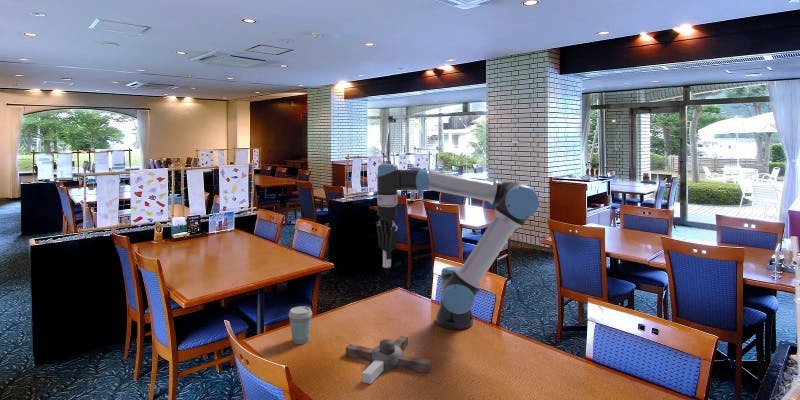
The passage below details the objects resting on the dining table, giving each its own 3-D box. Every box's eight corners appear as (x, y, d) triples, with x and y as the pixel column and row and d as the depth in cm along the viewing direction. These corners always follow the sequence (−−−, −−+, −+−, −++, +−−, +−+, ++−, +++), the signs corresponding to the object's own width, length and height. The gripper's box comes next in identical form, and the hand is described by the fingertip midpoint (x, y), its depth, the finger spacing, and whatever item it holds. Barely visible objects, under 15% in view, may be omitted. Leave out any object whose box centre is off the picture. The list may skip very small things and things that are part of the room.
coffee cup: (307, 347, 162) (306, 315, 161) (285, 344, 164) (284, 313, 162) (316, 337, 170) (315, 306, 169) (295, 335, 172) (294, 304, 171)
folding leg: (375, 368, 146) (375, 359, 146) (383, 370, 145) (383, 361, 145) (362, 381, 138) (362, 372, 138) (371, 383, 137) (371, 374, 137)
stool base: (405, 342, 166) (405, 324, 166) (433, 372, 145) (434, 351, 144) (344, 353, 158) (344, 334, 157) (364, 386, 136) (364, 364, 135)
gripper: (369, 204, 171) (369, 264, 174) (388, 208, 161) (388, 272, 164) (386, 202, 176) (385, 261, 179) (405, 206, 165) (404, 269, 168)
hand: (386, 266), depth 171 cm, fingers closed
